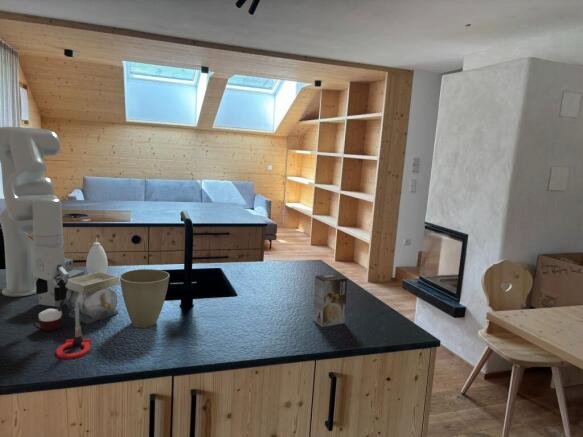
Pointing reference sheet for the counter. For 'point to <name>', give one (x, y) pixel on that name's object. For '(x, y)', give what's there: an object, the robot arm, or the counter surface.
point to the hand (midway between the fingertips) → (51, 296)
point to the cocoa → (50, 318)
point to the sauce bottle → (96, 259)
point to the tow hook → (75, 340)
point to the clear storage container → (92, 296)
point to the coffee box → (330, 299)
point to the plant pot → (144, 295)
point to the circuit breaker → (49, 296)
